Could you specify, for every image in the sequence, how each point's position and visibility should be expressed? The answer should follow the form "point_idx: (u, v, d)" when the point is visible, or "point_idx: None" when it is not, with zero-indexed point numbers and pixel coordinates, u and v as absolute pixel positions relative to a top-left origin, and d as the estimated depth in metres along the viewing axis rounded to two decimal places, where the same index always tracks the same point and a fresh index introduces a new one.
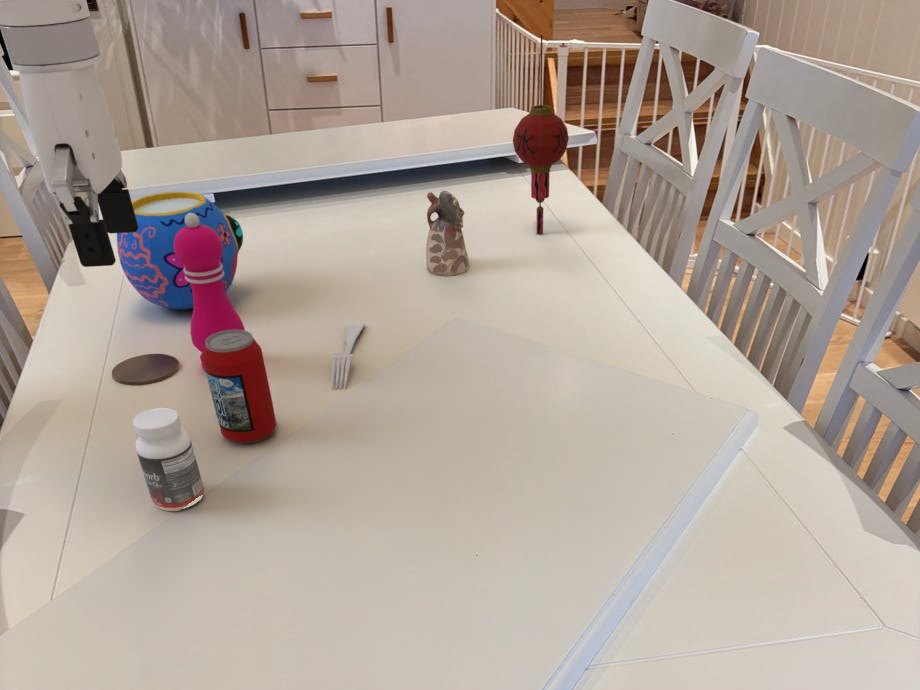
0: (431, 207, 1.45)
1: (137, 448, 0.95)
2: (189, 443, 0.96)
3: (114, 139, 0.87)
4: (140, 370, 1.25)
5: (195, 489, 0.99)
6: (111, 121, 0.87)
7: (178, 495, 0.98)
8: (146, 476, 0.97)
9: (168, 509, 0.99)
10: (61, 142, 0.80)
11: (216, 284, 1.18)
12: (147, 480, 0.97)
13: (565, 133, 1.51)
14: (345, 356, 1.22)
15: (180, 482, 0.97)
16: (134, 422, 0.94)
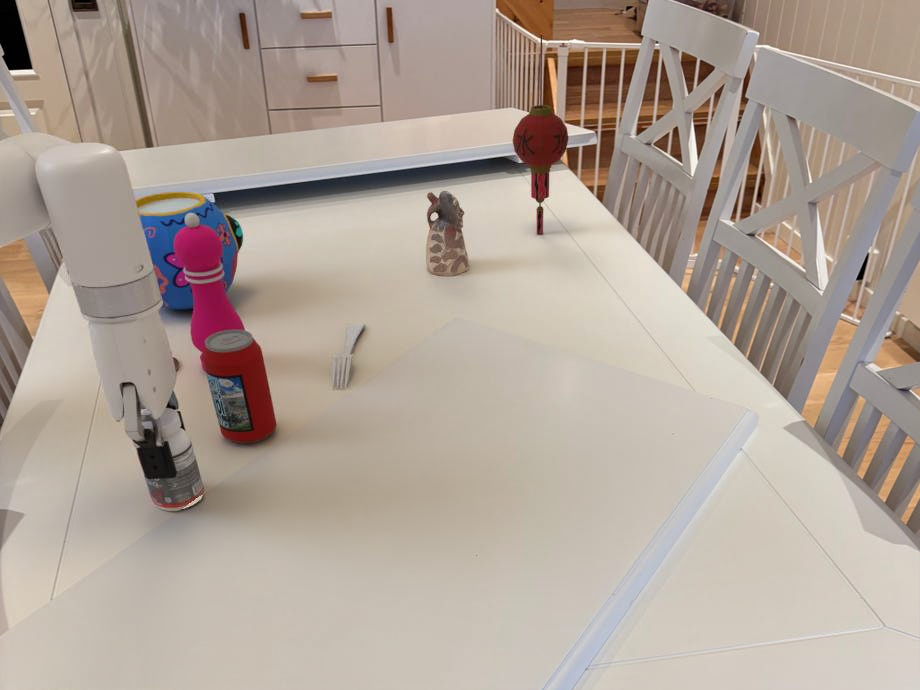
0: (431, 207, 1.45)
1: None
2: (189, 443, 0.96)
3: (170, 360, 0.93)
4: None
5: (195, 489, 0.99)
6: (168, 344, 0.93)
7: (178, 495, 0.98)
8: None
9: (168, 509, 0.99)
10: (126, 381, 0.86)
11: (216, 284, 1.18)
12: (147, 480, 0.97)
13: (565, 133, 1.51)
14: (346, 356, 1.22)
15: (180, 482, 0.97)
16: None
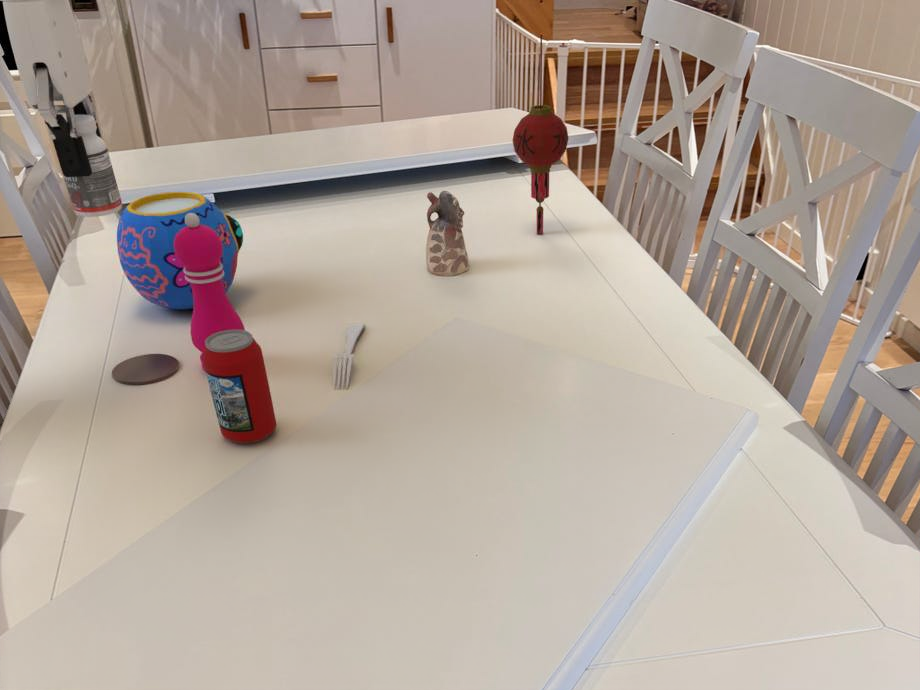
0: (431, 207, 1.45)
1: None
2: (104, 148, 1.06)
3: (85, 64, 1.03)
4: (140, 370, 1.25)
5: (112, 196, 1.08)
6: (82, 49, 1.03)
7: (95, 198, 1.07)
8: (66, 179, 1.06)
9: (87, 214, 1.08)
10: (38, 61, 0.96)
11: (216, 284, 1.18)
12: (67, 183, 1.07)
13: (565, 133, 1.51)
14: (346, 356, 1.22)
15: (97, 185, 1.06)
16: None
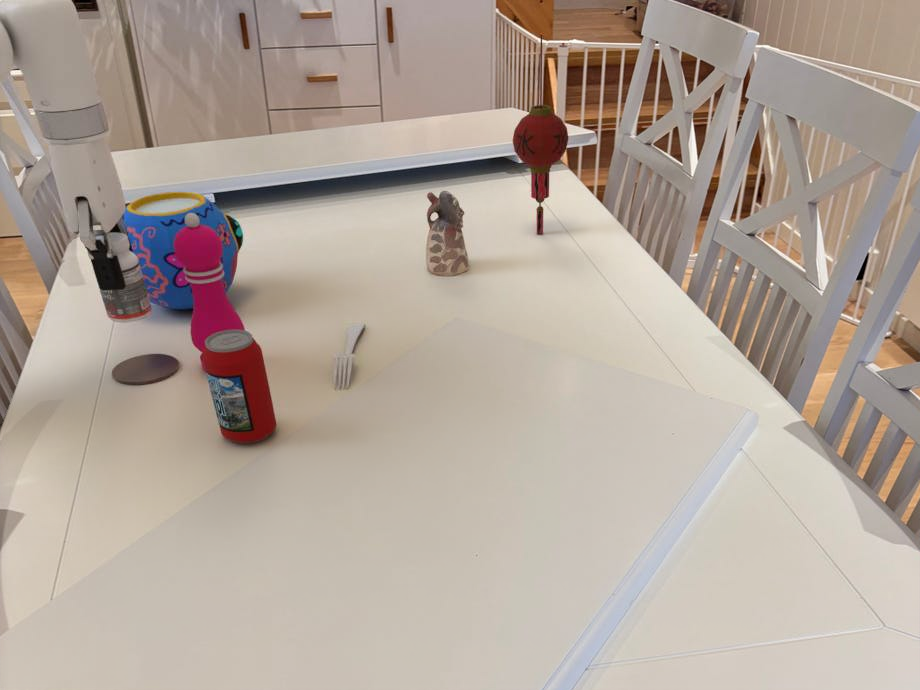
0: (431, 207, 1.45)
1: None
2: (137, 262, 1.16)
3: (119, 189, 1.14)
4: (140, 370, 1.25)
5: (143, 304, 1.19)
6: (117, 176, 1.13)
7: (128, 307, 1.18)
8: (101, 290, 1.17)
9: (120, 320, 1.19)
10: (79, 195, 1.07)
11: (216, 284, 1.18)
12: (102, 294, 1.17)
13: (565, 133, 1.51)
14: (347, 356, 1.22)
15: (130, 295, 1.17)
16: None
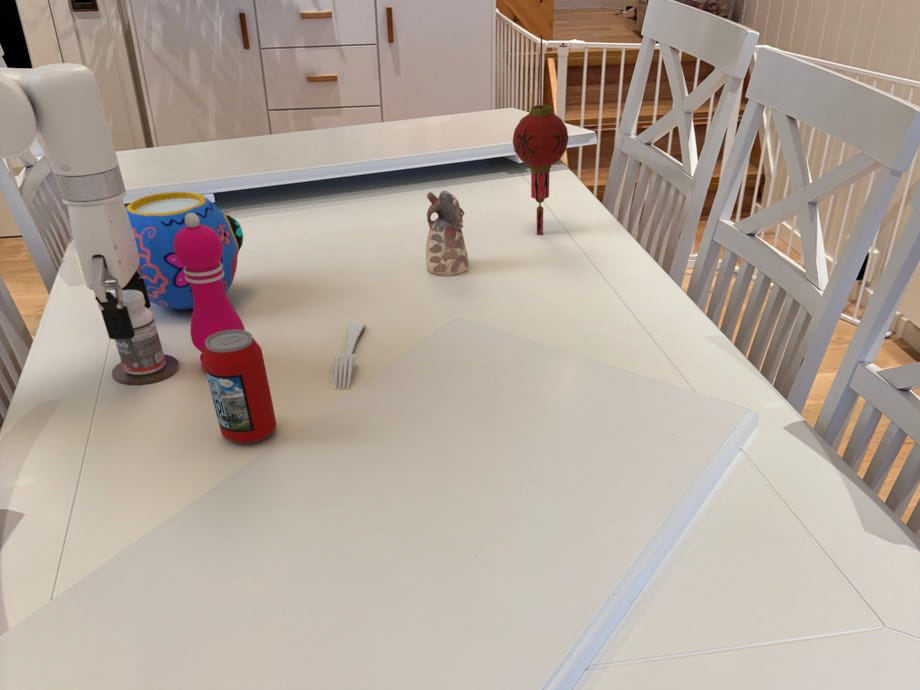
0: (431, 207, 1.45)
1: None
2: (152, 318, 1.21)
3: (134, 245, 1.18)
4: None
5: (157, 357, 1.24)
6: (132, 232, 1.18)
7: (143, 361, 1.23)
8: (118, 345, 1.22)
9: (136, 373, 1.24)
10: (97, 253, 1.11)
11: (216, 284, 1.18)
12: (119, 348, 1.22)
13: (565, 133, 1.51)
14: (347, 356, 1.22)
15: (145, 350, 1.22)
16: None
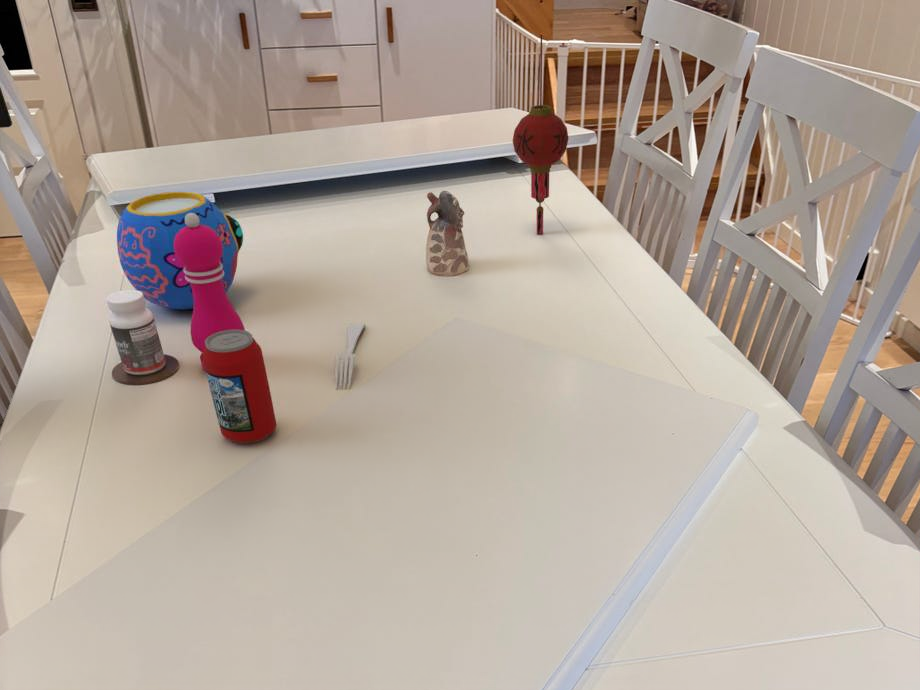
0: (431, 207, 1.45)
1: (110, 321, 1.20)
2: (152, 318, 1.21)
3: None
4: None
5: (157, 357, 1.24)
6: None
7: (143, 361, 1.23)
8: (118, 345, 1.22)
9: (136, 373, 1.24)
10: None
11: (216, 284, 1.18)
12: (119, 348, 1.22)
13: (565, 133, 1.51)
14: (348, 356, 1.22)
15: (145, 350, 1.22)
16: (107, 299, 1.19)
